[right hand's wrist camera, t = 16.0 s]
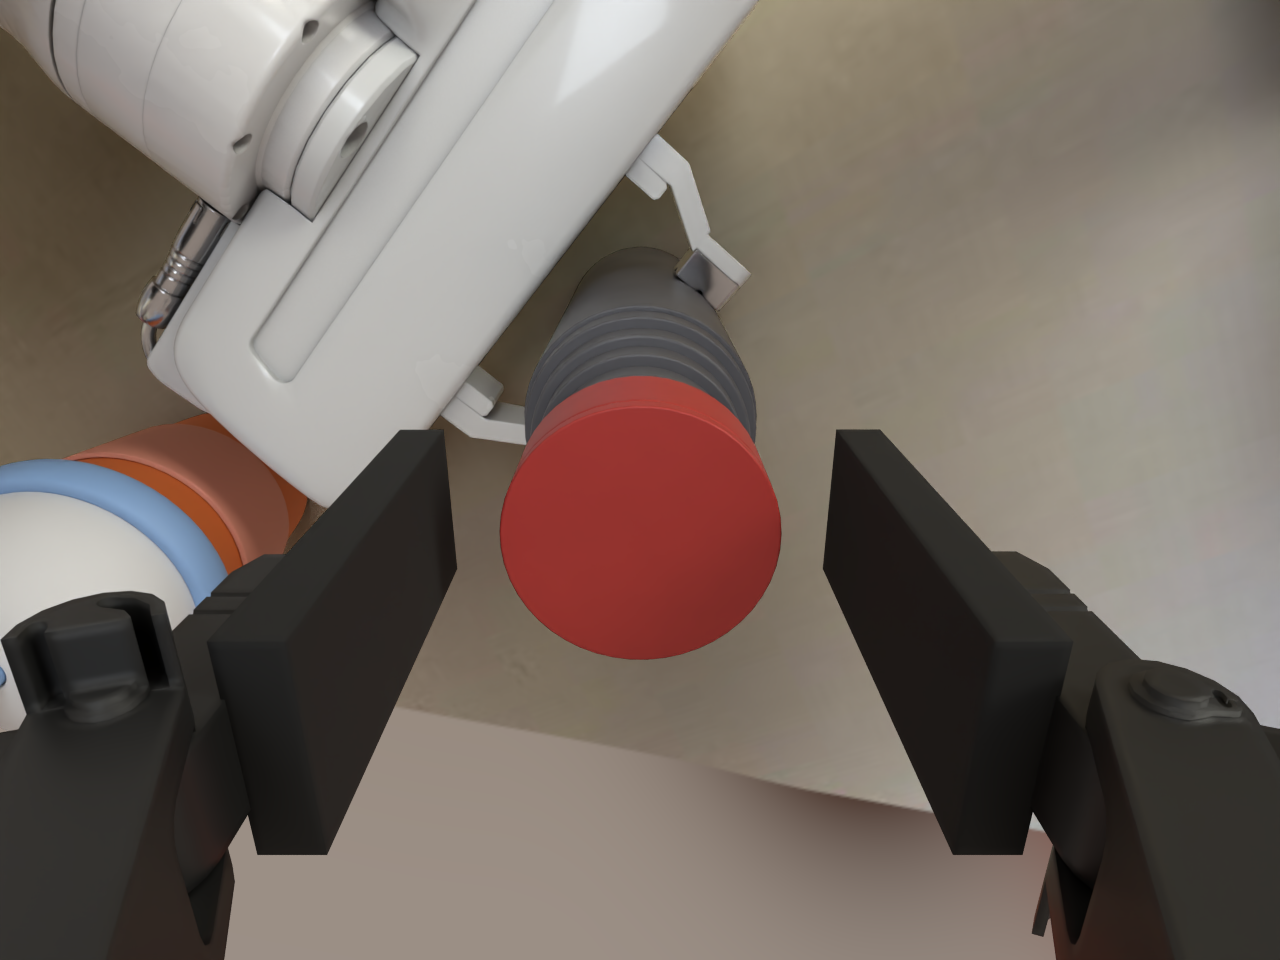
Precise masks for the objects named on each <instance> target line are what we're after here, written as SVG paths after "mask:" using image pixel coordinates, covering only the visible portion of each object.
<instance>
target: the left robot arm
mask: <svg viewBox="0 0 1280 960" xmlns="http://www.w3.org/2000/svg"><path fill="white" fill-rule="evenodd" d="M758 1H759V0H0V27H1V28H3V29H4V30H5V31H7V32H8V33H9V34H11V35H12V36H13V37H14V38H15V39H16V40H17V41H18V42H19V43H20V44H21V45H22V46H23V47H24V48H25V49H26V50H27V51H28V52H29V54H30V55H31V56H32V58H33V59H34V60H35V61H36V63H37V64H38V65H39V67H40V68H41V69H42V70H43V71H44V72H45V74H46V75H47V76H48V77H49V78H50V79H51V81H52V82H53V83H54V84H55V85H56V86H57V87H58V88H59V89H60V90H61V91H62V92H63V93H64V94H65V95H67V96H68V97H69V98H70V99H72V100H73V101H74V102H76V103H77V104H78V105H79V106H81V107H82V108H83V109H85V110H86V111H87V112H89V113H90V114H91V115H92V116H94V117H95V118H96V119H98V120H99V121H100V122H102V123H103V124H104V125H106V126H107V127H109V128H110V129H111V130H113V131H114V132H115V133H116V134H118V135H119V136H120V137H122V138H123V139H124V140H126V141H127V142H128V143H130V144H131V145H132V146H134V147H135V148H136V149H138V150H139V151H140V152H142V153H143V154H144V155H146V156H147V157H148V158H149V159H151V160H152V161H153V162H155V163H156V164H157V165H159V166H160V167H161V168H162V169H163V170H165V171H166V172H167V173H169V174H170V175H171V176H173V177H174V178H175V179H177V180H178V181H179V182H181V183H182V184H183V185H185V186H186V187H187V188H189V189H190V190H191V191H193V192H194V193H195V194H197V195H198V198H197V199H196V201H195V202H194V204H193V205H192V207H191V209H190V211H189V213H188V215H187V217H186V218H185V220H184V222H183V223H182V225H181V227H180V228H179V230H178V232H177V234H176V236H175V238H174V240H173V242H172V245H171V248H170V250H169V253H168V255H167V257H166V260H165V261H164V263H163V265H162V267H161V268H160V270H159V272H158V274H157V275H156V276H153V277H152V278H151V279H150V281H149V282H148V283H147V285H146V286H145V288H144V289H143V291H142V293H141V295H140V298H139V300H138V303H137V308H136V315H137V316H138V318H139V319H140V320H141V321H142V322H143V323H142V329H141V342H142V348H143V351H144V354H145V357H146V359H147V366H148V368H149V370H150V371H151V372H152V374H153V375H154V376H155V377H156V378H157V379H158V380H159V381H160V382H161V383H163V384H164V385H165V386H167V387H168V388H170V389H171V390H173V391H174V392H175V393H177V394H178V395H180V396H181V397H183V398H184V399H186V400H187V401H189V402H190V403H191V404H193V405H194V406H196V407H197V408H199V409H201V410H202V411H205V412H207V413H209V414H211V415H212V416H213V417H214V418H215V419H216V420H217V421H218V422H219V423H220V424H221V425H222V426H223V427H224V428H225V429H227V430H228V431H229V432H230V433H231V434H232V435H233V436H234V437H235V438H236V439H237V440H238V441H240V442H241V443H242V444H243V445H244V446H245V447H246V448H247V449H248V450H250V451H251V452H252V453H253V454H254V455H256V456H257V457H258V458H259V459H260V460H261V461H263V462H264V463H265V464H266V465H267V466H268V467H270V468H271V469H272V470H273V471H275V472H276V473H277V474H278V475H280V476H281V477H282V478H283V479H284V480H286V481H287V482H288V483H289V484H291V485H292V486H293V487H295V488H296V489H297V490H299V491H300V492H301V493H302V494H304V495H305V496H307V497H308V498H309V499H311V500H312V501H314V502H315V503H317V504H319V505H321V506H323V507H325V508H329V507H330V506H331V505H332V504H333V502H334V501H335V500H336V499H337V498H338V497H339V496H340V495H341V494H342V493H343V491H344V490H345V489H346V488H347V487H348V486H349V485H350V484H351V483H352V482H353V481H354V479H355V478H356V477H357V476H358V475H359V474H360V473H361V472H362V471H363V470H364V469H365V467H366V466H367V465H368V464H369V463H370V462H371V461H372V460H373V459H374V458H375V456H376V455H377V454H378V453H379V452H380V451H381V450H382V449H383V448H384V447H385V446H386V444H387V443H388V442H389V441H390V440H391V439H392V438H393V437H394V436H395V435H396V433H397V432H398V431H399V430H429V429H430V427H431V426H432V425H433V423H434V422H435V421H436V419H437V418H438V417H439V416H440V415H441V416H442V417H443V418H445V419H446V420H447V421H449V422H450V423H452V424H453V425H454V426H456V427H457V428H458V429H460V430H461V431H462V432H464V433H465V434H466V435H468V436H469V437H471V438H478V439H485V440H492V441H499V442H506V443H513V444H521V445H526V439H525V417H524V411H525V406H519V405H514V404H509V403H504V402H499V401H497V400H498V399H499V397H500V396H501V394H502V392H503V391H504V385H503V384H501V383H500V382H499V381H497V380H496V379H495V378H494V377H492V376H491V375H490V374H489V373H487V372H486V371H485V370H484V369H482V368H481V367H480V366H478V365H479V364H480V362H481V361H482V360H483V359H484V357H485V356H486V355H487V353H488V352H489V351H490V350H491V348H492V347H493V346H494V344H495V343H496V342H497V340H498V339H499V338H500V337H501V335H502V334H503V333H504V331H505V330H506V329H507V328H508V326H509V325H510V324H511V322H512V321H513V320H514V318H515V317H516V316H517V315H518V313H519V312H520V311H521V309H522V308H523V307H524V306H525V304H526V303H527V302H528V300H529V299H530V298H531V296H532V295H533V294H534V293H535V291H536V290H537V289H538V287H539V286H540V285H541V284H542V282H543V281H544V280H545V278H546V277H547V276H548V274H549V273H550V272H551V271H552V269H553V268H554V267H555V265H556V264H557V263H558V262H559V260H560V259H561V258H562V256H563V255H564V254H565V252H566V251H567V250H568V249H569V247H570V246H571V245H572V243H573V242H574V241H575V240H576V238H577V237H578V236H579V234H580V233H581V232H582V230H583V229H584V228H585V227H586V225H587V224H588V223H589V221H590V220H591V219H592V217H593V216H594V215H595V214H596V212H597V211H598V210H599V208H600V207H601V206H602V205H603V203H604V202H605V201H606V199H607V198H608V197H609V195H610V194H611V193H612V192H613V190H614V189H615V188H616V186H617V185H618V184H619V183H620V181H621V180H622V179H623V177H624V176H627V177H628V178H629V179H630V180H631V181H632V182H633V183H635V184H636V185H637V186H638V187H639V188H640V189H641V190H643V191H644V192H645V193H646V194H647V195H648V196H649V197H651V198H652V199H653V200H656V199H659V198H660V197H661V196H662V195H663V193H664V192H665V191H666V190H667V184H668V185H669V188H670V191H671V194H672V197H673V200H674V203H675V206H676V209H677V212H678V215H679V218H680V221H681V224H682V227H683V230H684V233H685V236H686V239H687V242H688V245H689V247H690V248H689V249H688V250H687V252H686V253H685V254H684V255H683V257H682V258H681V259H680V260H679V262H678V263H677V264H676V266H675V267H674V271H675V274H676V275H677V276H678V277H679V278H680V279H681V280H682V281H684V282H685V283H686V284H687V285H688V286H690V287H691V288H693V289H694V290H700V291H701V293H702V295H703V297H704V299H705V300H706V301H707V302H708V303H709V304H710V305H711V306H712V307H713V308H715V309H716V310H718V311H720V310H721V309H722V308H723V307H724V305H725V304H726V303H727V302H728V301H729V300H730V299H731V298H732V297H733V295H734V294H735V293H736V292H737V291H738V290H739V289H740V288H741V286H742V285H743V284H744V283H745V282H746V281H747V279H748V278H749V277H750V276H751V275H752V274H751V273H750V272H749V271H748V270H747V269H746V268H745V267H744V266H743V265H742V264H741V263H739V262H738V261H737V260H736V259H735V258H734V257H733V256H732V255H731V254H729V253H728V252H727V251H726V250H725V249H724V248H723V247H722V246H721V245H719V244H718V243H717V242H716V241H715V240H714V239H713V238H712V237H711V236H709V235H708V234H709V233H710V232H711V230H710V227H709V224H708V221H707V218H706V214H705V211H704V208H703V205H702V202H701V199H700V196H699V192H698V189H697V186H696V183H695V180H694V177H693V174H692V170H691V167H690V164H689V163H688V162H687V161H686V160H685V159H684V158H683V157H682V156H681V155H680V154H679V153H678V152H677V151H676V150H675V149H673V148H672V147H671V146H670V145H669V144H668V143H667V142H666V141H665V140H664V139H663V138H662V137H661V136H659V135H658V134H657V133H658V132H659V131H660V129H661V128H662V127H663V126H664V124H665V123H666V122H667V120H668V119H669V118H670V117H671V115H672V114H673V113H674V111H675V110H676V109H677V107H678V106H679V105H680V104H681V102H682V101H683V100H684V98H685V97H686V96H687V95H688V93H689V92H690V91H691V90H692V89H693V87H694V86H695V85H696V83H697V82H698V81H699V80H700V78H701V77H702V76H703V74H704V73H705V72H706V70H707V69H708V68H709V67H710V65H711V64H712V63H713V61H714V60H715V59H716V58H717V56H718V55H719V54H720V52H721V51H722V50H723V48H724V47H725V46H726V45H727V43H728V42H729V41H730V39H731V38H732V37H733V35H734V34H735V33H736V32H737V30H738V29H739V28H740V26H741V25H742V24H743V23H744V21H745V20H746V19H747V17H748V16H749V15H750V13H751V12H752V11H753V10H754V8H755V6H756V5H757V3H758ZM157 328H158V329H165V330H164V332H163V333H162V335H161V336H160V338H159V340H158V341H156V332H157Z"/></svg>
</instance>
